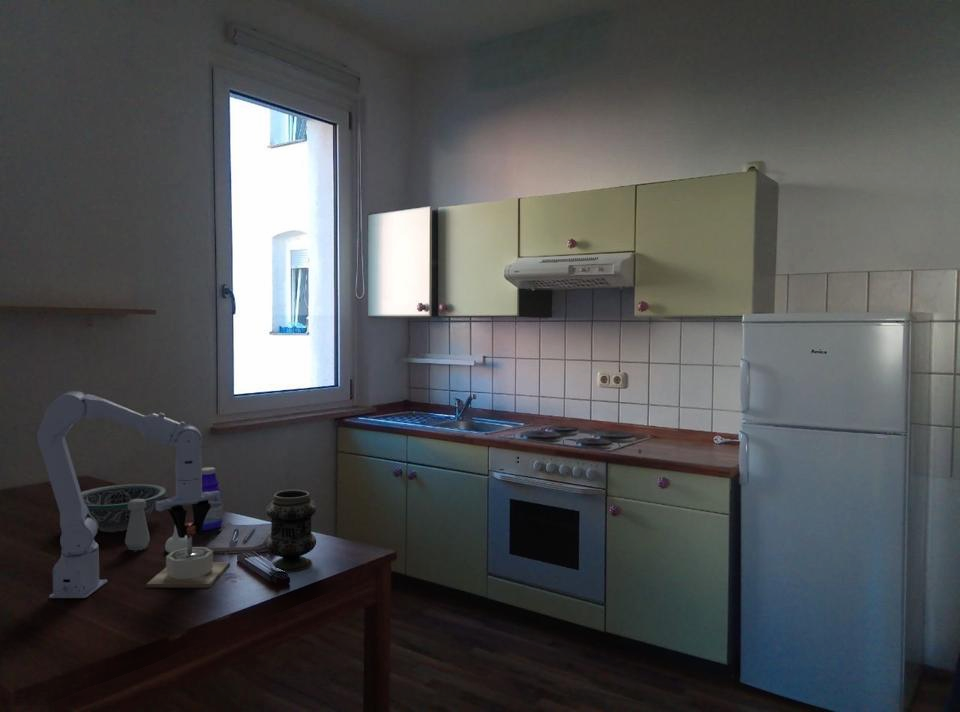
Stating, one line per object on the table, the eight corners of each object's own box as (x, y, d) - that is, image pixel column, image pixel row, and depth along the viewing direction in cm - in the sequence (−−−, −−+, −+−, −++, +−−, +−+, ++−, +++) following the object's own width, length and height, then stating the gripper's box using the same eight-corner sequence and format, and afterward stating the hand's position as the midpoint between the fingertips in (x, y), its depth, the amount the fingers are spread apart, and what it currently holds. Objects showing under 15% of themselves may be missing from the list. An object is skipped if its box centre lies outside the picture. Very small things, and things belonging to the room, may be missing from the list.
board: (209, 587, 156) (209, 583, 156) (146, 587, 156) (146, 583, 156) (229, 565, 170) (229, 562, 170) (172, 565, 170) (172, 561, 170)
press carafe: (202, 580, 159) (202, 560, 158) (161, 579, 158) (160, 560, 158) (217, 565, 168) (217, 547, 168) (178, 565, 168) (177, 547, 167)
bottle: (202, 533, 195) (201, 472, 194) (191, 529, 199) (190, 469, 198) (225, 527, 201) (225, 467, 200) (214, 523, 204) (214, 465, 204)
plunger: (198, 560, 160) (198, 528, 159) (170, 560, 160) (169, 528, 159) (208, 551, 166) (208, 520, 166) (181, 551, 166) (181, 520, 166)
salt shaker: (139, 553, 178) (138, 503, 177) (120, 551, 179) (119, 502, 179) (154, 546, 184) (153, 497, 183) (135, 544, 185) (134, 496, 184)
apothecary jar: (326, 562, 173) (326, 491, 172) (290, 578, 163) (290, 502, 162) (291, 553, 179) (291, 485, 178) (255, 568, 169) (254, 495, 168)
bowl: (164, 535, 193) (163, 501, 193) (61, 545, 184) (60, 509, 183) (168, 511, 216) (168, 481, 216) (77, 519, 207) (76, 487, 207)
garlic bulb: (191, 547, 185) (191, 517, 185) (191, 552, 179) (190, 521, 179) (165, 549, 183) (165, 519, 183) (164, 555, 177) (164, 523, 177)
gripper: (211, 470, 170) (211, 525, 171) (149, 480, 159) (150, 538, 160) (224, 475, 165) (225, 531, 166) (162, 485, 155) (163, 545, 155)
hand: (189, 535), depth 163 cm, fingers closed on plunger, 3 cm apart
